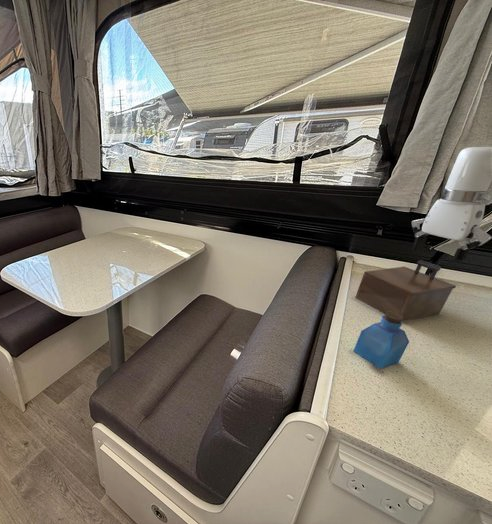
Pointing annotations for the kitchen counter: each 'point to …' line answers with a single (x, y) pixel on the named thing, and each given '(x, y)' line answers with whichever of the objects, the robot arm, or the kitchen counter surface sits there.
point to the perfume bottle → (383, 341)
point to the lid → (411, 279)
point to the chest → (400, 299)
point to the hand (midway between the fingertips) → (436, 255)
